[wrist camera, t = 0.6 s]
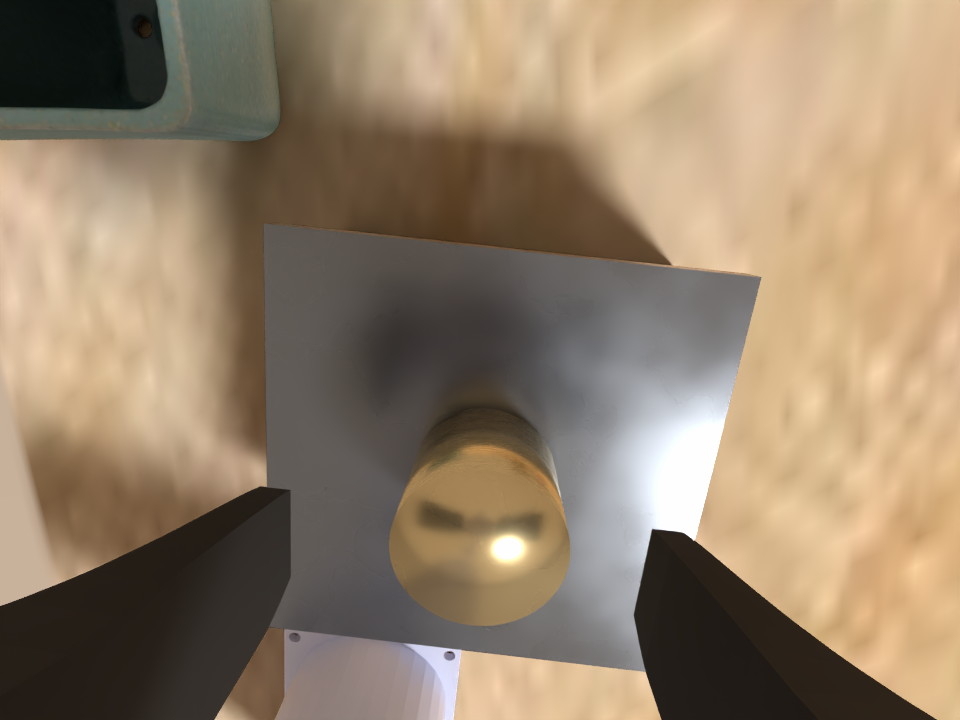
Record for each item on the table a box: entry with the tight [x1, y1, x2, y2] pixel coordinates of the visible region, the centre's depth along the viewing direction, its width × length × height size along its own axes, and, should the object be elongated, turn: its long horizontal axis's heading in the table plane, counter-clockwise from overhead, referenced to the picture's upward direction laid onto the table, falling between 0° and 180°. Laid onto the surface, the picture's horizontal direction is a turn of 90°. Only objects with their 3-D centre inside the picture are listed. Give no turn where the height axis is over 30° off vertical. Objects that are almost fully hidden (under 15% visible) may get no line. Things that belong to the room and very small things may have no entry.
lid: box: [263, 223, 761, 672], centre depth 14 cm, size 13×13×5 cm
